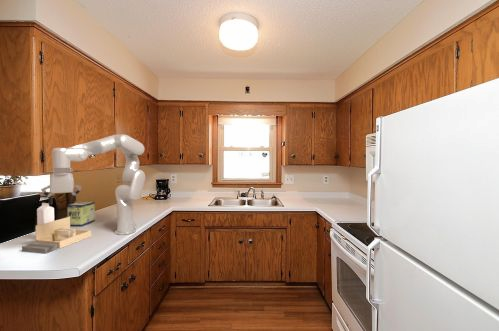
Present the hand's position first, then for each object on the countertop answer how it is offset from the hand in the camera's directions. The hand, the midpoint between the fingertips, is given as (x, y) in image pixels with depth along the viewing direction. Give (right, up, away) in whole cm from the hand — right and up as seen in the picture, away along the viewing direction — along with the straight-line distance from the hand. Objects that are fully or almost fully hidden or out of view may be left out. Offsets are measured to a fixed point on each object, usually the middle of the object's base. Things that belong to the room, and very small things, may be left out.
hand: (62, 203), depth 135 cm
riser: (-13, -26, +1) cm, 29 cm away
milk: (-25, -25, +21) cm, 42 cm away
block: (-10, -25, +16) cm, 31 cm away
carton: (-10, -25, +16) cm, 31 cm away
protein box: (-27, -24, +56) cm, 66 cm away
